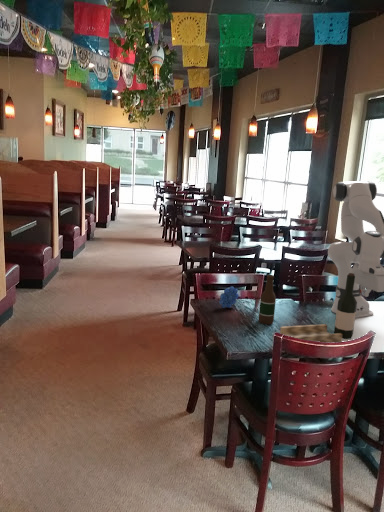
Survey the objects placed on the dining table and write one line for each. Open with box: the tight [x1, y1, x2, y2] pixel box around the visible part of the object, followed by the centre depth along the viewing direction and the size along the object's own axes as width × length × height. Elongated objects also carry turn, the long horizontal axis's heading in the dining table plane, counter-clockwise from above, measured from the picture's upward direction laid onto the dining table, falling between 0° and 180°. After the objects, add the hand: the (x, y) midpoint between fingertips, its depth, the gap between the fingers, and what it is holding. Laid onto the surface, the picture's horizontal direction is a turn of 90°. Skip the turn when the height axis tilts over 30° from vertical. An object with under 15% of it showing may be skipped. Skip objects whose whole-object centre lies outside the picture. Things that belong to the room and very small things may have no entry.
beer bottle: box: [257, 274, 277, 325], centre depth 208 cm, size 8×8×24 cm
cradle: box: [279, 323, 343, 343], centre depth 192 cm, size 24×13×4 cm, turn 107°
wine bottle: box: [333, 273, 357, 340], centre depth 195 cm, size 8×8×30 cm
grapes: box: [219, 285, 239, 309], centre depth 228 cm, size 12×7×12 cm, turn 116°
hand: (364, 295), depth 197 cm, fingers closed
